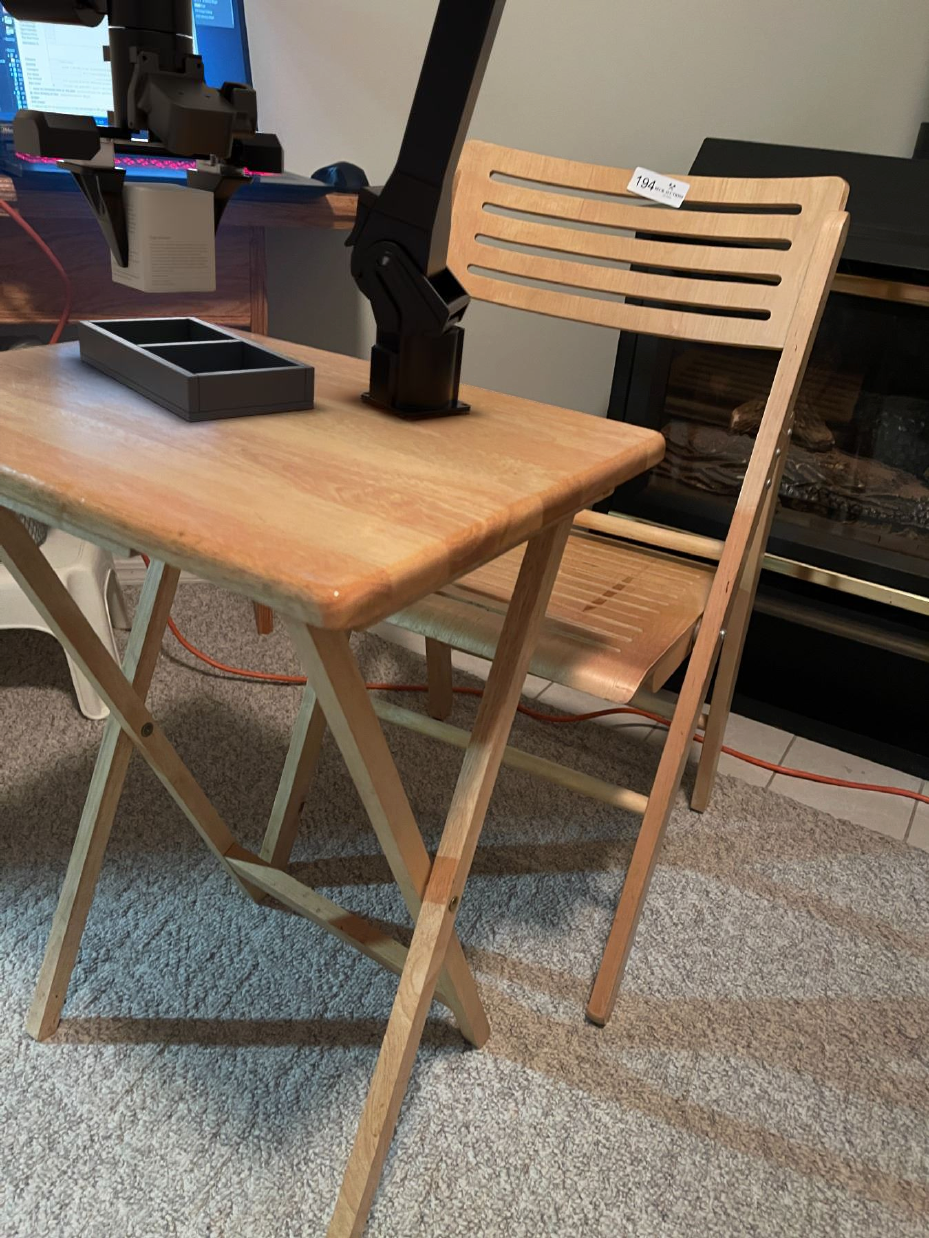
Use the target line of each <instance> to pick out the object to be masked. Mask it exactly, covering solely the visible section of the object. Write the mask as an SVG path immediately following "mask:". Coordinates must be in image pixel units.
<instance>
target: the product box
mask: <svg viewBox="0 0 929 1238" xmlns="http://www.w3.org/2000/svg"><path fill="white" fill-rule="evenodd" d="M122 195H123V204H124V212H125V221H126V229H127V237H128V246H129V260H128V268H122V267H120V266H119V265H118V264H117V262H116V260H115V257H114V255H113V253H112V251H111V249H110V248H109V249H110V265H111V280H112V282H115V283H118V284H121V285H124V286H126V287H130V288H133V289H136V290H139V291H141V292H144V293H148V294H149V293H151V294H153V293H154V294H166V293H167V294H169V293H190V292H191V293H193V292H195V293H197V292H198V293H200V292H201V293H202V292H203V293H210V292H212V293H213V292H216V289H217V282H216V280H217V279H216V275H217V274H216V243H215V242H216V241H215V240H216V237H215V238H214V193H213V192H209V191H204V190H198V189H193V188H189V187H187V186H185V185H180V184H176V183H165V182H140V181H139V182H136V181H134V182H133V181H124V186H123V191H122Z"/></svg>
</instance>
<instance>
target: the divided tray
mask: <svg viewBox="0 0 929 1238" xmlns="http://www.w3.org/2000/svg"><path fill="white" fill-rule="evenodd" d="M76 323H77V335H78V345H79V359H80V360H81V361H82V362H84V363H86V364H88V365H89V366H92V367H93V368H94V369H96V370H99V372H101V373H103V374H105V375H107V376H109V377H111V378H112V379H114V380H116V381H118V382H119V383H121V384H123V385H124V386H126V387H128V388H129V389H132V391H135V392H137V393H138V394H139V395H142V396H144V397H145V398H147V399H149V400H151V401H152V402H154V403H156V404H158V405H159V406H161V407H163V408H164V409H167V410H168V411H170V412H171V413H173V414H175V415H177V416H178V417H181V418H182V419H184V420H185V421H187V422H189V423H192V422H201V421H202V422H203V421H209V420H210V421H211V420H219V419H228V418H237V417H248V416H257V415H267V414H273V413H274V414H276V413H284V412H292V411H302V410H312V409H315V370H316V369H315V366H312V365H310V364H307V363H305V362H303V361H301V360H298V359H295V358H293V357H291V356H289V355H286V354H283V353H281V352H279V351H276V350H274V349H271V348H269V347H267V346H264V345H261V344H260V343H257V342H254V341H253V340H250V339H247V338H244V337H242V336H240V335H238V334H235V333H233V332H230V331H228V330H225V329H223V328H220V327H218V326H216V325H213V324H211V323H209V322H206V321H204V320H201V319H199V318H197V317H194V316H186V317H185V316H182V317H181V316H180V317H179V316H177V317H151V318H150V317H149V318H121V319H118V318H117V319H93V320H91V319H90V320H77V322H76Z"/></svg>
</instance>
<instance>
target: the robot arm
mask: <svg viewBox="0 0 929 1238" xmlns="http://www.w3.org/2000/svg"><path fill="white" fill-rule="evenodd" d="M506 3H507V0H439V2H438V6H437V9H436V12H435V16H434V21H433V25H432V29H431V32H430V35H429V39H428V42H427V46H426V50H425V54H424V57H423V62H422V65H421V69H420V73H419V78H418V81H417V83H416V88H415V92H414V97H413V98H412V103H411V105H410V106H411V107H410V110H409V113H408V117H407V120H406V121H407V122H406V126H405V130H404V133H403V137H402V141H401V144H400V147H399V151H398V155H397V160H396V162H395V165H394V166H393V167H394V168H393V169H392V172H391V173H390V175H389V177H388V178H387V180H386V182H385V183H384V184H383V185H371V186H369V185H368V186H361V187H360V188H359V191H358V196H357V200H356V201H357V202H356V211H355V212H356V213H355V220H354V225H353V227H352V230H351V232H350V234H349V235H348V237H347V238H346V239H345V240H344V242H343V244H344V247H346V248H349V247H353V248H352V249H351V252H350V259H349V267H350V268H349V269H350V275H351V277H352V278H353V280H354V282H355V285H356V286H357V289H358V290H359V292H361V293H362V295H363V296H364V297H365V298H366V299H367V300H369V303H370V307H371V311H372V314H373V318H374V321H375V326H376V329H375V343H373V344H372V345H371V349H370V364H369V366H370V367H369V380H368V381H369V384H368V391H361V392H360V399H361V400H362V401H365V402H367V403H370V404H372V405H374V406H376V407H379V408H381V409H384V410H385V411H388V412H390V413H392V414H395V415H398V416H400V417H402V418H404V419H410V420H413V419H421V418H428V417H435V416H437V417H438V416H443V415H445V416H446V415H452V414H460V413H468V412H469V413H470V412H471V411H472V405H471V404H469V403H467V402H464V401H462V400H459V397H460V396H459V395H460V384H461V376H462V375H461V374H462V363H463V352H464V344H465V343H464V342H465V332H466V328H465V327H463V326H459V325H456V324H458V323H460V322H462V320H463V318H464V316H465V315H466V312H467V310H468V307H469V305H470V304H471V301H472V296H471V295H470V293H469V292H468V290H467V289H465V287H464V286H463V284H462V283H461V282H460V281H459V279H458V277H457V276H456V275H455V274H454V272H453V271H452V270H451V269H450V268H449V266H448V264H447V260H448V253H449V246H450V237H451V231H452V210H453V208H452V207H453V184H454V180H455V175H456V172H457V169H458V166H459V162H460V158H461V156H462V151H463V149H464V148H463V147H464V145H465V141H466V138H467V135H468V131H469V128H470V125H471V122H472V118H473V114H474V112H475V108H476V104H477V101H478V98H479V94H480V91H481V88H482V84H483V81H484V77H485V75H486V71H487V67H488V63H489V60H490V57H491V53H492V51H493V47H494V43H495V40H496V37H497V33H498V30H499V27H500V24H501V20H502V16H503V13H504V11H505V7H506ZM0 4H1V6H2V7H3V9H4V10H5V11H6V12H7V14H8V15H9V16H10V17H11V18H12V19H15V20H16V21H19V22H27V23H38V24H47V25H48V24H49V25H59V26H71V27H79V28H80V27H81V28H91V29H93V28H96V27H99V26H100V25H101V24H102V23H103V20H104V19H105V17H106V16H107V27H108V28H107V30H108V31H107V33H108V45H106V44H105V45H102V56H103V57H102V58H103V63H104V62H105V63H109V64H110V77H111V93H112V105H113V106H112V107H113V110H108V109H107V110H106V115H107V117H106V119H107V125H98V124H97V122H96V119H95V117H94V116H93V115H86V114H80V113H71V112H62V111H51V110H42V109H30V108H22V107H21V108H19V110H17V112H16V113H15V115H14V116H13V120H12V125H11V128H12V136H13V146H14V152H15V153H20V154H26V155H30V156H35V157H39V158H46V159H56V160H55V164H56V168H57V169H60V170H64V171H69V172H70V174H71V175H72V178H73V179H74V181H75V183H76V184H77V186H78V188H79V189H80V191H81V193H82V194H83V196H84V198H85V199H86V201H87V203H88V205H89V206H90V208H91V210H92V212H93V214H94V216H95V218H96V220H97V222H98V225H99V227H100V229H101V231H102V234H103V236H104V238H105V241H106V242H107V244H108V247H109V249H111V251H112V253H113V255H114V257H115V260H116V262H117V264H118V265H119V266H120V267H122V268H128V260H129V246H128V237H127V229H126V221H125V212H124V204H123V195H122V191H123V186H124V182H126V176H127V169H126V168H121V167H116V156H115V155H128V156H131V155H132V156H141V157H143V156H144V157H154V158H155V157H157V158H169V159H183V160H195V168H185V172H186V173H185V175H186V187H189V188H193V189H198V190H204V191H209V192H213V193H214V238H215V239H216V236H217V232H218V230H219V227H220V223H221V221H222V218H223V216H224V213H225V211H226V208H227V206H228V204H229V202H230V200H231V198H232V197H233V196H234V195H235V193H236V192H238V190H239V189H240V188H241V187H242V186H243V185H251V184H252V182H253V181H254V176H249V175H245V174H246V173H245V169H247V171H248V172H252V173H264V174H279V175H284V174H285V149H284V147H283V145H282V143H281V141H280V139H279V137H278V135H277V133H270V132H264V131H263V132H262V131H257V126H258V119H259V118H258V117H259V113H258V112H259V111H258V98H257V97H258V95H257V91H256V90H255V89H254V88H253V87H252V86H251V85H250V84H248V83H244V82H239V81H237V82H236V81H230V80H225V81H224V82H222V85H221V87H215V86H210V85H208V84H207V81H206V77H205V64H204V62H203V55H202V54H196V53H194V39H193V38H194V26H193V25H194V24H193V0H0ZM141 131H144V132H147V139H140V138H133V135H141ZM111 251H110V252H111Z"/></svg>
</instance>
